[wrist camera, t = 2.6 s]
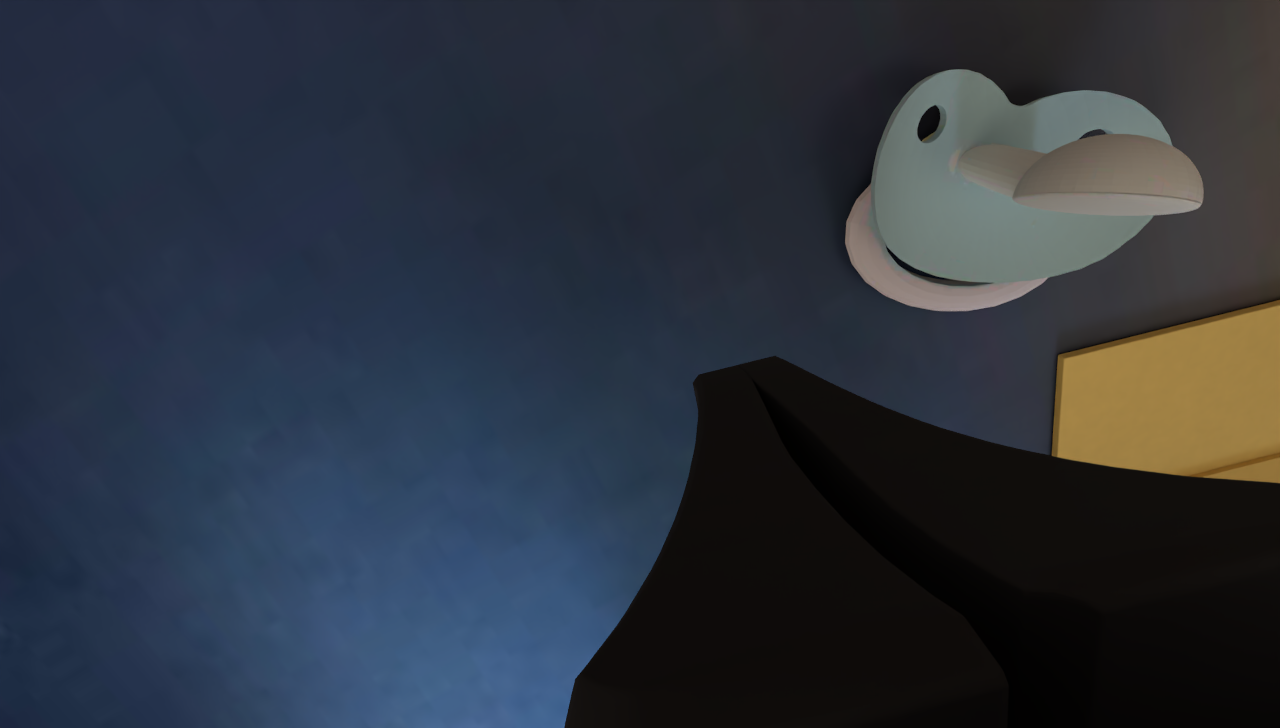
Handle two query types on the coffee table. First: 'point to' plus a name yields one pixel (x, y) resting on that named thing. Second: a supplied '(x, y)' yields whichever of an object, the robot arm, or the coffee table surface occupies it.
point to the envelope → (1177, 399)
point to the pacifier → (1009, 191)
